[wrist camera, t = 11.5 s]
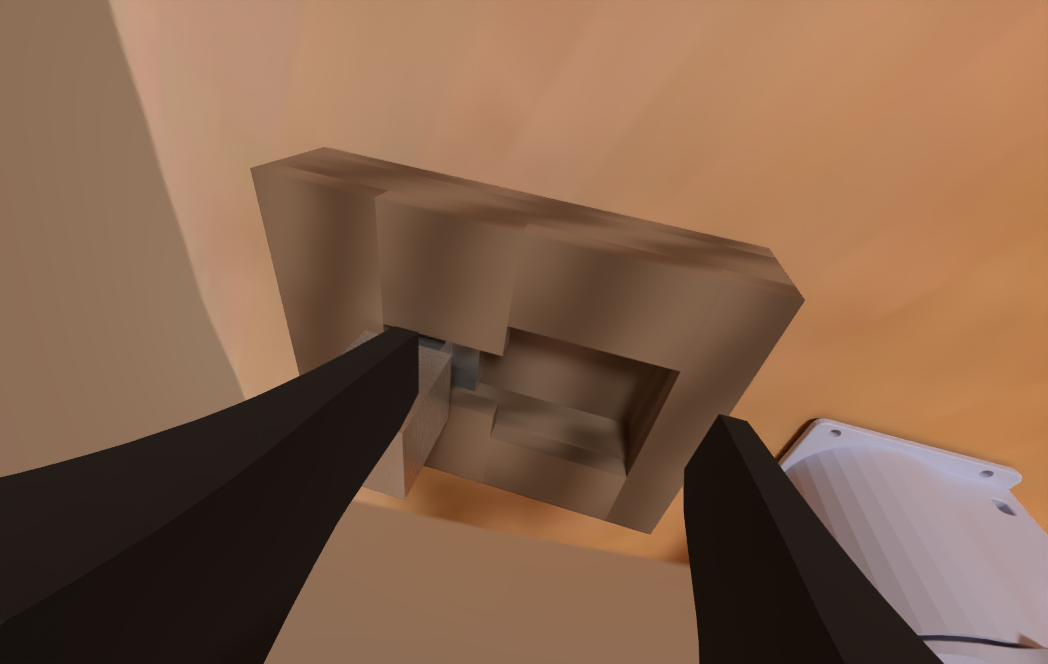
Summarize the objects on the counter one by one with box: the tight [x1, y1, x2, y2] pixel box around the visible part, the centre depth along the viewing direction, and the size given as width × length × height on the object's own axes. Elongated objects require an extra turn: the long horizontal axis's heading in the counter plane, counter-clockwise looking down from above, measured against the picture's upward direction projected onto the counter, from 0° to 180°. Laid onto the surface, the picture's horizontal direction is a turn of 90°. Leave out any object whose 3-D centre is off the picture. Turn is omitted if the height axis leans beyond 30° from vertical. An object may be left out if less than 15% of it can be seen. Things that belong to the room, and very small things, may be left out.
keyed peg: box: [341, 331, 485, 500], centre depth 18 cm, size 5×5×8 cm
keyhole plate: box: [250, 147, 805, 534], centre depth 20 cm, size 20×15×4 cm
